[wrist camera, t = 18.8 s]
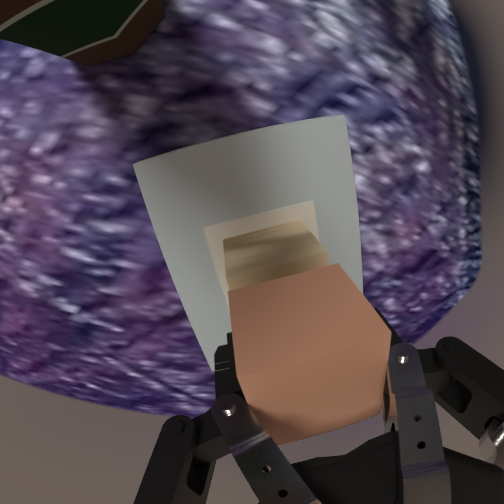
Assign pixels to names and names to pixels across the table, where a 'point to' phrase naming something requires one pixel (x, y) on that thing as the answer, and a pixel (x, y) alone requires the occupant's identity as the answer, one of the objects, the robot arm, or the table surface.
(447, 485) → the robot arm
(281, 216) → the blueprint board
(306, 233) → the maple block
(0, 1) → the beer bottle
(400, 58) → the table surface
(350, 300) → the terracotta block
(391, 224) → the table surface
